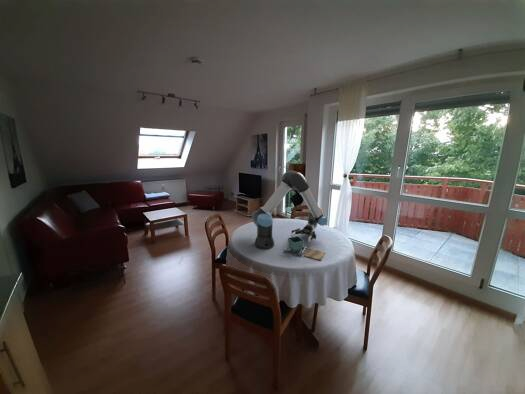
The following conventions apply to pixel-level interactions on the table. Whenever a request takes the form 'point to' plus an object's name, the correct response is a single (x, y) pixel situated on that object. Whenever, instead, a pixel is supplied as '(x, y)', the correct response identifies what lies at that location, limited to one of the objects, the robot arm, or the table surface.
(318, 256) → the walnut board
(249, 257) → the table surface
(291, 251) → the metal collar
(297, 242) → the flower pot
